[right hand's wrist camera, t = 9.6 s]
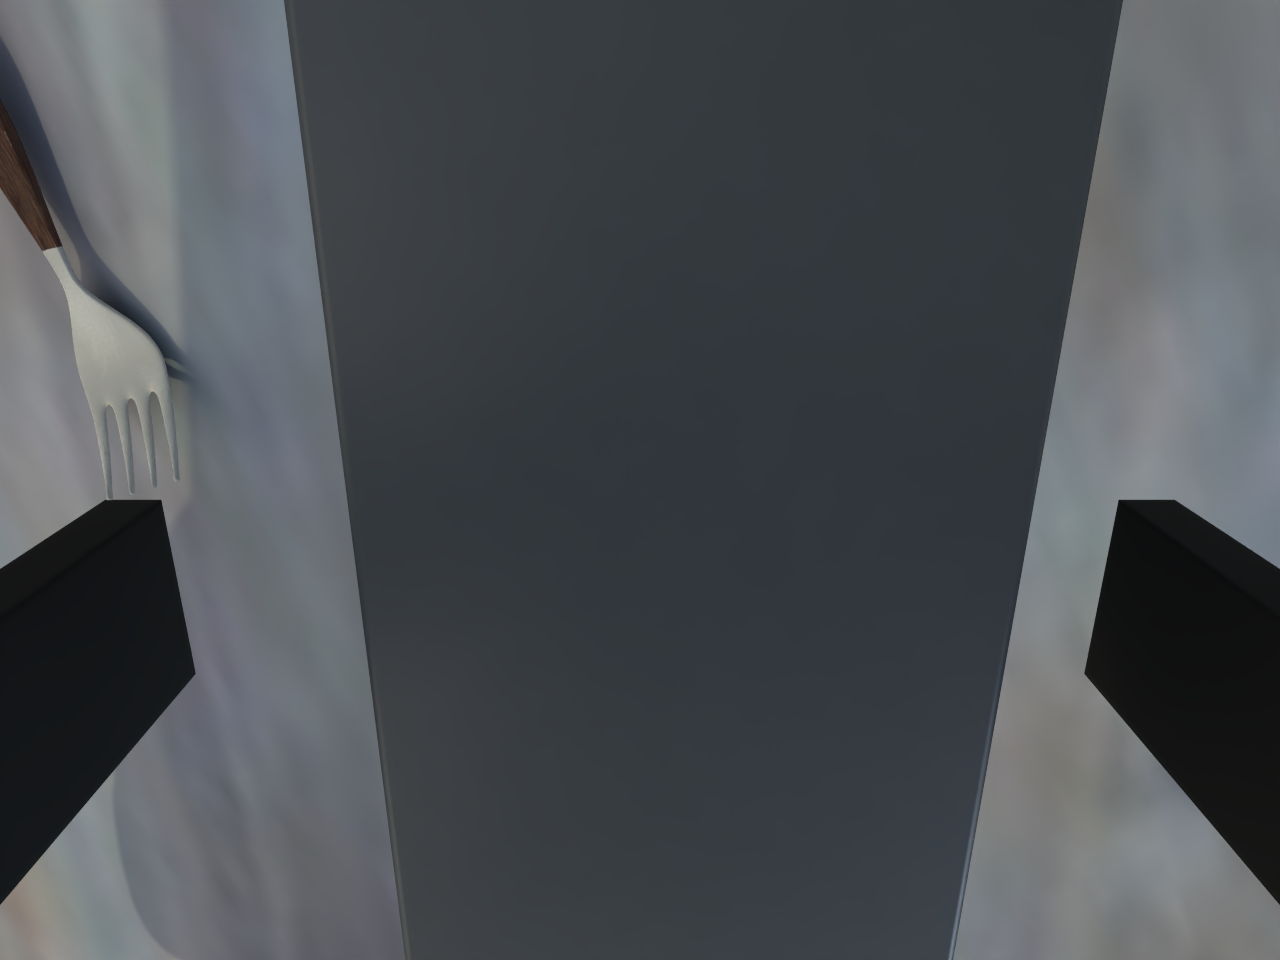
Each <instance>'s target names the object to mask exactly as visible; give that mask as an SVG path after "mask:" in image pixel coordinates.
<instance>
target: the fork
mask: <svg viewBox="0 0 1280 960" xmlns="http://www.w3.org/2000/svg"><path fill="white" fill-rule="evenodd" d="M0 188H1V190H2V191H3V193H4V194H5V196H6V197H7V199H8V200H9V202H10V203H11V205H12V206H13V208H14V209H15V211H16V212H17V214H18V215H19V217H20V218H21V220H22V221H23V223H24V224H25V226H26V227H27V229H28V230H29V232H30V233H31V235H32V236H33V238H34V239H35V241H36V242H37V244H38V245H39V247H40V248H41V250H42V251H43V253H44V254H45V256H46V257H47V259H48V261H49V262H50V264H51V265H52V267H53V269H54V270H55V272H56V274H57V276H58V277H59V279H60V281H61V283H62V285H63V288H64V290H65V293H66V296H67V300H68V304H69V310H70V317H71V325H72V335H73V344H74V351H75V357H76V362H77V366H78V371H79V374H80V378H81V381H82V384H83V387H84V390H85V393H86V396H87V399H88V402H89V405H90V409H91V412H92V416H93V419H94V424H95V428H96V433H97V438H98V443H99V449H100V454H101V460H102V466H103V472H104V478H105V485H106V495H107V500H113V493H112V476H111V462H110V449H109V439H108V430H107V420H106V408H107V406H108V405H111V406H112V407H113V409H114V412H115V415H116V419H117V423H118V428H119V433H120V438H121V443H122V448H123V454H124V459H125V465H126V471H127V478H128V485H129V492H130V494H132V495H133V494H134V493H135V487H134V470H133V457H132V444H131V434H130V425H129V416H128V401H129V399H130V398H132V399H133V400H134V401H135V403H136V406H137V409H138V413H139V416H140V421H141V426H142V431H143V436H144V442H145V447H146V452H147V458H148V463H149V470H150V476H151V484H152V487H153V488H156V487H157V477H156V462H155V449H154V438H153V428H152V419H151V411H150V394H151V392H155V393H156V394H157V396H158V399H159V402H160V406H161V410H162V414H163V419H164V424H165V429H166V434H167V439H168V444H169V450H170V455H171V461H172V467H173V475H174V481H176V482H178V481H179V480H180V478H179V465H178V452H177V441H176V430H175V421H174V412H173V405H172V398H171V391H170V385H169V378H168V373H167V368H166V364H165V361H164V358H163V355H162V353H161V351H160V349H159V348H158V346H157V344H156V343H155V342H154V340H153V339H152V338H151V337H150V336H149V335H148V334H147V333H146V332H145V331H144V330H143V329H142V328H141V327H140V326H138V325H137V324H136V323H134V322H133V321H132V320H130V319H129V318H127V317H126V316H124V315H123V314H121V313H120V312H118V311H117V310H115V309H114V308H112V307H110V306H109V305H107V304H106V303H104V302H103V301H101V300H100V299H99V298H97V297H96V296H94V295H93V294H92V293H91V292H89V291H88V290H87V289H86V288H85V287H84V286H83V285H82V283H81V282H80V281H79V280H78V278H77V276H76V275H75V273H74V271H73V269H72V267H71V265H70V263H69V261H68V258H67V256H66V254H65V251H64V249H63V246H62V244H61V241H60V239H59V236H58V234H57V231H56V229H55V226H54V223H53V221H52V218H51V216H50V213H49V211H48V208H47V205H46V203H45V200H44V198H43V195H42V192H41V190H40V187H39V185H38V182H37V179H36V177H35V174H34V172H33V169H32V167H31V164H30V162H29V159H28V157H27V155H26V152H25V150H24V147H23V145H22V143H21V140H20V138H19V136H18V133H17V131H16V129H15V127H14V125H13V123H12V121H11V119H10V117H9V115H8V113H7V111H6V109H5V107H4V105H3V103H2V102H1V100H0Z"/></svg>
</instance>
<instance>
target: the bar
mask: <svg viewBox="0 0 1280 960" xmlns="http://www.w3.org/2000/svg"><path fill="white" fill-rule="evenodd" d="M1122 2H1123V0H284V4H285V12H286V19H287V27H288V35H289V43H290V51H291V59H292V67H293V75H294V83H295V91H296V98H297V106H298V114H299V122H300V130H301V138H302V146H303V154H304V162H305V169H306V177H307V185H308V193H309V201H310V209H311V217H312V225H313V233H314V241H315V248H316V256H317V264H318V272H319V280H320V288H321V296H322V304H323V312H324V319H325V327H326V335H327V343H328V351H329V359H330V367H331V375H332V383H333V391H334V398H335V406H336V414H337V422H338V430H339V438H340V446H341V454H342V462H343V469H344V477H345V485H346V493H347V501H348V509H349V517H350V525H351V533H352V541H353V548H354V556H355V564H356V572H357V580H358V588H359V596H360V604H361V612H362V620H363V627H364V635H365V643H366V651H367V659H368V667H369V675H370V683H371V691H372V698H373V706H374V714H375V722H376V730H377V738H378V746H379V754H380V762H381V770H382V777H383V785H384V793H385V801H386V809H387V817H388V825H389V833H390V841H391V848H392V856H393V864H394V872H395V880H396V888H397V896H398V904H399V912H400V920H401V927H402V935H403V943H404V951H405V959H406V960H953V956H954V951H955V945H956V939H957V934H958V928H959V922H960V917H961V911H962V905H963V900H964V894H965V888H966V883H967V877H968V872H969V866H970V860H971V855H972V849H973V843H974V838H975V832H976V826H977V821H978V815H979V809H980V804H981V798H982V793H983V787H984V781H985V776H986V770H987V764H988V759H989V753H990V747H991V742H992V736H993V730H994V725H995V719H996V714H997V708H998V702H999V697H1000V691H1001V685H1002V680H1003V674H1004V668H1005V663H1006V657H1007V651H1008V646H1009V640H1010V635H1011V629H1012V623H1013V618H1014V612H1015V606H1016V601H1017V595H1018V589H1019V584H1020V578H1021V572H1022V567H1023V561H1024V555H1025V550H1026V544H1027V539H1028V533H1029V527H1030V522H1031V516H1032V510H1033V505H1034V499H1035V493H1036V488H1037V482H1038V476H1039V471H1040V465H1041V460H1042V454H1043V448H1044V443H1045V437H1046V431H1047V426H1048V420H1049V414H1050V409H1051V403H1052V397H1053V392H1054V386H1055V381H1056V375H1057V369H1058V364H1059V358H1060V352H1061V347H1062V341H1063V335H1064V330H1065V324H1066V318H1067V313H1068V307H1069V302H1070V296H1071V290H1072V285H1073V279H1074V273H1075V268H1076V262H1077V256H1078V251H1079V245H1080V239H1081V234H1082V228H1083V222H1084V217H1085V211H1086V206H1087V200H1088V194H1089V189H1090V183H1091V177H1092V172H1093V166H1094V160H1095V155H1096V149H1097V143H1098V138H1099V132H1100V127H1101V121H1102V115H1103V110H1104V104H1105V98H1106V93H1107V87H1108V81H1109V76H1110V70H1111V64H1112V59H1113V53H1114V48H1115V42H1116V36H1117V31H1118V25H1119V19H1120V14H1121V8H1122Z"/></svg>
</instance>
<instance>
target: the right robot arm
mask: <svg viewBox="0 0 1280 960" xmlns="http://www.w3.org/2000/svg"><path fill="white" fill-rule="evenodd" d="M195 674H196V673H195V668H194V663H193V658H192V653H191V648H190V643H189V638H188V633H187V628H186V623H185V618H184V613H183V608H182V602H181V597H180V592H179V587H178V582H177V577H176V572H175V567H174V562H173V557H172V552H171V547H170V542H169V537H168V532H167V527H166V522H165V517H164V512H163V506H162V501H161V500H104V501H103V502H101V503H100V504H98V505H97V506H95V507H94V508H92V509H91V510H89V511H88V512H86V513H85V514H83V515H82V516H80V517H79V518H77V519H76V520H74V521H73V522H71V523H69V524H68V525H66V526H65V527H63V528H62V529H60V530H59V531H57V532H56V533H54V534H53V535H51V536H50V537H48V538H47V539H45V540H44V541H42V542H41V543H39V544H38V545H36V546H35V547H33V548H31V549H30V550H28V551H27V552H25V553H24V554H22V555H21V556H19V557H18V558H16V559H15V560H13V561H12V562H10V563H9V564H7V565H6V566H4V567H3V568H1V569H0V904H1V903H2V902H3V901H4V900H5V899H6V897H7V896H8V895H9V894H10V893H11V891H12V890H13V889H14V888H15V887H16V886H17V884H18V883H19V882H20V881H21V880H22V878H23V877H24V876H25V875H26V874H27V873H28V871H29V870H30V869H31V868H32V867H33V865H34V864H35V863H36V862H37V861H38V860H39V858H40V857H41V856H42V855H43V854H44V852H45V851H46V850H47V849H48V848H49V846H50V845H51V844H52V843H53V842H54V841H55V839H56V838H57V837H58V836H59V835H60V833H61V832H62V831H63V830H64V829H65V828H66V826H67V825H68V824H69V823H70V822H71V820H72V819H73V818H74V817H75V816H76V815H77V813H78V812H79V811H80V810H81V809H82V807H83V806H84V805H85V804H86V803H87V802H88V800H89V799H90V798H91V797H92V796H93V794H94V793H95V792H96V791H97V790H98V789H99V787H100V786H101V785H102V784H103V783H104V781H105V780H106V779H107V778H108V777H109V776H110V774H111V773H112V772H113V771H114V770H115V768H116V767H117V766H118V765H119V764H120V763H121V761H122V760H123V759H124V758H125V757H126V755H127V754H128V753H129V752H130V751H131V750H132V748H133V747H134V746H135V745H136V744H137V742H138V741H139V740H140V739H141V738H142V736H143V735H144V734H145V733H146V732H147V731H148V729H149V728H150V727H151V726H152V725H153V723H154V722H155V721H156V720H157V719H158V718H159V716H160V715H161V714H162V713H163V712H164V710H165V709H166V708H167V707H168V706H169V705H170V703H171V702H172V701H173V700H174V699H175V697H176V696H177V695H178V694H179V693H180V692H181V690H182V689H183V688H184V687H185V686H186V684H187V683H188V682H189V681H190V680H191V679H192V677H193V676H194V675H195ZM1084 674H1085V675H1086V676H1087V677H1088V679H1089V680H1090V681H1091V682H1092V683H1093V684H1094V686H1095V687H1096V688H1097V689H1098V690H1099V692H1100V693H1101V694H1102V695H1103V696H1104V697H1105V699H1106V700H1107V701H1108V702H1109V703H1110V705H1111V706H1112V707H1113V708H1114V709H1115V710H1116V712H1117V713H1118V714H1119V715H1120V716H1121V718H1122V719H1123V720H1124V721H1125V722H1126V723H1127V725H1128V726H1129V727H1130V728H1131V729H1132V731H1133V732H1134V733H1135V734H1136V735H1137V736H1138V738H1139V739H1140V740H1141V741H1142V742H1143V744H1144V745H1145V746H1146V747H1147V748H1148V750H1149V751H1150V752H1151V753H1152V754H1153V755H1154V757H1155V758H1156V759H1157V760H1158V761H1159V763H1160V764H1161V765H1162V766H1163V767H1164V768H1165V770H1166V771H1167V772H1168V773H1169V774H1170V776H1171V777H1172V778H1173V779H1174V780H1175V781H1176V783H1177V784H1178V785H1179V786H1180V787H1181V789H1182V790H1183V791H1184V792H1185V793H1186V794H1187V796H1188V797H1189V798H1190V799H1191V800H1192V802H1193V803H1194V804H1195V805H1196V806H1197V807H1198V809H1199V810H1200V811H1201V812H1202V813H1203V815H1204V816H1205V817H1206V818H1207V819H1208V820H1209V822H1210V823H1211V824H1212V825H1213V826H1214V828H1215V829H1216V830H1217V831H1218V832H1219V833H1220V835H1221V836H1222V837H1223V838H1224V839H1225V841H1226V842H1227V843H1228V844H1229V845H1230V846H1231V848H1232V849H1233V850H1234V851H1235V852H1236V854H1237V855H1238V856H1239V857H1240V858H1241V860H1242V861H1243V862H1244V863H1245V864H1246V865H1247V867H1248V868H1249V869H1250V870H1251V871H1252V873H1253V874H1254V875H1255V876H1256V877H1257V878H1258V880H1259V881H1260V882H1261V883H1262V884H1263V886H1264V887H1265V888H1266V889H1267V890H1268V891H1269V893H1270V894H1271V895H1272V896H1273V897H1274V899H1275V900H1276V901H1277V902H1278V903H1279V904H1280V569H1279V568H1277V567H1276V566H1274V565H1273V564H1271V563H1270V562H1268V561H1267V560H1265V559H1264V558H1262V557H1261V556H1259V555H1258V554H1256V553H1255V552H1253V551H1252V550H1250V549H1249V548H1247V547H1245V546H1244V545H1242V544H1241V543H1239V542H1238V541H1236V540H1235V539H1233V538H1232V537H1230V536H1229V535H1227V534H1226V533H1224V532H1223V531H1221V530H1220V529H1218V528H1217V527H1215V526H1214V525H1212V524H1211V523H1209V522H1207V521H1206V520H1204V519H1203V518H1201V517H1200V516H1198V515H1197V514H1195V513H1194V512H1192V511H1191V510H1189V509H1188V508H1186V507H1185V506H1183V505H1182V504H1180V503H1179V502H1177V501H1176V500H1119V501H1118V506H1117V512H1116V517H1115V522H1114V527H1113V532H1112V537H1111V542H1110V547H1109V552H1108V557H1107V562H1106V567H1105V572H1104V577H1103V582H1102V587H1101V592H1100V597H1099V602H1098V608H1097V613H1096V618H1095V623H1094V628H1093V633H1092V638H1091V643H1090V648H1089V653H1088V658H1087V663H1086V668H1085V673H1084Z"/></svg>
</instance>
